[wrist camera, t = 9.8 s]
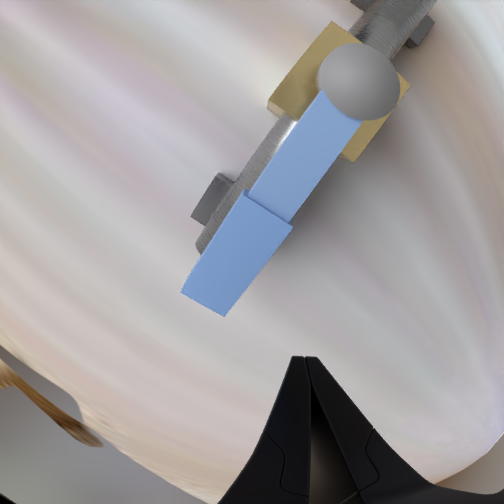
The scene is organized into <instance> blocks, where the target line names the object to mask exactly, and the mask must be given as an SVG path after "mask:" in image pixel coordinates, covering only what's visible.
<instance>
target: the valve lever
mask: <svg viewBox="0 0 504 504" xmlns="http://www.w3.org/2000/svg"><path fill="white" fill-rule="evenodd" d="M316 85H317V90H318V95H317V96H316V97H315V99H314V100H313V101H312V103H311V104H310V105H309V107H308V108H307V110H306V111H305V112H304V114H303V115H302V116H301V118H300V119H299V121H298V122H297V123H296V125H295V126H294V128H293V129H292V130H291V132H290V133H289V135H288V136H287V137H286V139H285V140H284V142H283V143H282V144H281V146H280V147H279V149H278V150H277V152H276V153H275V154H274V156H273V157H272V159H271V160H270V162H269V163H268V164H267V166H266V167H265V169H264V170H263V172H262V173H261V175H260V176H259V178H258V179H257V180H256V182H255V183H254V185H253V186H252V188H251V189H250V191H249V190H248V189H246V188H244V190H243V191H242V193H241V194H240V196H239V197H238V199H237V201H236V202H235V204H234V205H233V207H232V208H231V210H230V211H229V213H228V214H227V216H226V217H225V219H224V220H223V222H222V223H221V225H220V227H219V228H218V230H217V231H216V233H215V234H214V236H213V238H212V239H211V241H210V242H209V244H208V245H207V247H206V249H205V250H204V252H203V253H202V255H201V257H200V258H199V260H198V261H197V263H196V265H195V266H194V268H193V269H192V271H191V273H190V274H189V276H188V278H187V279H186V282H185V284H184V286H183V288H182V290H181V292H180V293H182V294H184V295H186V296H187V297H189V298H191V299H193V300H194V301H196V302H198V303H200V304H202V305H203V306H205V307H207V308H209V309H211V310H212V311H214V312H216V313H218V314H220V315H222V316H224V317H225V315H226V314H227V313H228V312H229V310H230V309H231V308H232V307H233V305H234V304H235V303H236V301H237V300H238V299H239V298H240V296H241V295H242V294H243V292H244V291H245V290H246V289H247V287H248V286H249V285H250V283H251V282H252V281H253V280H254V278H255V277H256V276H257V274H258V273H259V272H260V270H261V269H262V268H263V267H264V265H265V264H266V263H267V261H268V260H269V259H270V257H271V256H272V255H273V254H274V252H275V251H276V250H277V248H278V247H279V246H280V244H281V243H282V242H283V240H284V239H285V238H286V236H287V235H288V234H289V233H290V231H291V230H292V229H293V224H292V221H291V219H292V217H293V216H294V215H295V213H296V212H297V211H298V209H299V208H300V207H301V205H302V204H303V203H304V201H305V200H306V199H307V197H308V196H309V195H310V193H311V192H312V190H313V189H314V188H315V186H316V185H317V184H318V182H319V181H320V180H321V178H322V177H323V176H324V174H325V173H326V171H327V170H328V169H329V167H330V166H331V165H332V163H333V162H334V161H335V159H336V158H337V156H338V155H339V154H340V152H341V151H342V150H343V148H344V147H345V145H346V144H347V143H348V141H349V140H350V139H351V137H352V136H353V134H354V133H355V132H356V130H357V129H358V128H359V126H360V125H361V123H362V122H363V121H364V120H376V119H380V118H382V117H384V116H386V115H388V114H389V113H390V112H391V111H392V110H393V109H394V108H395V106H396V104H397V102H398V100H399V96H400V81H399V77H398V74H397V71H396V69H395V68H394V66H393V64H392V63H391V62H390V60H389V59H388V58H387V57H386V56H385V55H384V54H383V53H381V52H380V51H378V50H377V49H375V48H373V47H371V46H368V45H365V44H360V43H349V44H344V45H341V46H339V47H337V48H335V49H334V50H333V51H332V52H331V53H330V54H329V55H328V56H327V57H326V58H325V59H324V60H323V61H322V63H321V64H320V66H319V68H318V71H317V75H316Z"/></svg>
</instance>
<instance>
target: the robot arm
mask: <svg viewBox="0 0 504 504" xmlns="http://www.w3.org/2000/svg"><path fill="white" fill-rule="evenodd" d="M0 504H16V503H14V502H13V501H12V500H10V499H9V498H7V497H6V496H4V495H3V494H1V493H0ZM218 504H504V489H502V490H501V491H500V492H498V493H495V494H476V493H471V492H465V491H460V490H454V489H450V488H445V487H441V486H437V485H435V484H432V483H430V482H429V481H427V480H426V479H424V478H423V477H422V476H421V475H420V474H419V473H417V472H416V471H415V470H414V469H413V468H412V467H411V466H410V465H409V464H408V463H407V462H405V461H404V460H403V459H402V458H401V457H400V456H399V455H398V454H397V453H396V452H395V451H394V450H393V449H392V448H391V447H390V446H389V445H388V444H387V442H386V441H385V440H384V439H383V438H382V437H381V436H380V434H379V433H378V432H377V431H376V429H375V428H373V426H372V425H371V423H370V422H369V421H368V420H367V419H366V417H365V416H364V415H363V414H362V412H361V411H360V410H359V409H358V407H357V406H356V405H355V404H354V402H353V401H352V400H351V399H350V398H349V396H348V395H347V394H346V393H345V391H344V390H343V389H342V388H341V386H340V385H339V384H338V383H337V381H336V380H335V379H334V378H333V376H332V375H331V374H330V373H329V371H328V370H327V369H326V367H325V366H324V365H323V364H322V362H321V361H320V360H319V359H318V358H317V357H311V356H306V357H305V358H304V357H303V356H292V357H291V360H290V363H289V366H288V368H287V371H286V374H285V377H284V379H283V382H282V385H281V387H280V390H279V392H278V395H277V398H276V400H275V403H274V405H273V408H272V410H271V413H270V415H269V418H268V420H267V423H266V425H265V427H264V430H263V433H262V434H261V437H260V439H259V441H258V443H257V445H256V447H255V449H254V452H253V454H252V455H251V457H250V459H249V460H248V462H247V463H246V465H245V467H244V468H243V470H242V471H241V473H240V474H239V475H238V477H237V478H236V480H235V481H234V482H233V484H232V485H231V487H230V488H229V489H228V491H227V492H226V493H225V495H224V496H223V497H222V499H221V500H220V501H219V502H218Z"/></svg>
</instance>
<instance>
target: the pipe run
mask: <svg viewBox="0 0 504 504" xmlns="http://www.w3.org/2000/svg"><path fill="white" fill-rule="evenodd" d="M436 1H437V0H351V1H350V2H352V3H353V4H354V5H356V6H357V7H359V8H360V9H362V10H363V11H364V13H363V14H362V16H361V17H360V18H359V19H358V20H357V21H356V22H355V24H354V25H353V26H352V27H351V28H350V29H349V31H348V32H347V31H346V30H344V29H343V28H341V27H340V26H338V25H337V24H335V23H334V22H332V21H331V22H330V23H329V25H328V26H327V27H326V28H325V29H324V30H323V31H322V33H321V34H320V35H319V36H318V37H317V39H316V40H315V41H314V42H313V43H312V44H311V46H310V47H309V48H308V49H307V51H306V52H305V53H304V54H303V55H302V57H301V58H300V59H299V60H298V62H297V63H296V64H295V65H294V67H293V68H292V69H291V70H290V72H289V73H288V74H287V76H286V77H285V78H284V80H283V81H282V82H281V83H280V85H279V86H278V87H277V89H276V90H275V91H274V93H273V94H272V95H271V97H270V98H269V99H268V104H267V109H268V110H270V111H272V112H273V113H275V114H276V115H278V116H279V117H280V118H279V120H278V121H277V122H276V124H275V125H274V126H273V128H272V129H271V131H270V132H269V133H268V135H267V136H266V138H265V139H264V140H263V142H262V143H261V145H260V146H259V147H258V149H257V150H256V152H255V153H254V155H253V156H252V157H251V159H250V160H249V162H248V163H247V165H246V166H245V168H244V169H243V171H242V172H241V173H240V175H239V176H238V178H237V179H236V181H235V182H232V181H231V180H229V179H227V178H226V177H224V176H223V175H221V174H220V173H218V174H217V175H216V176H215V178H214V179H213V181H212V182H211V184H210V185H209V187H208V189H207V190H206V192H205V193H204V195H203V197H202V198H201V200H200V202H199V203H198V205H197V206H196V208H195V210H194V211H193V213H192V215H191V216H190V217H192V218H193V219H195V220H196V221H198V222H199V223H201V224H203V225H204V226H206V227H205V228H204V230H203V231H202V233H201V234H200V236H199V238H198V239H197V241H196V248H197V250H198V252H199V253H200V254H201V255H202V253H203V252H204V250H205V249H206V247H207V245H208V244H209V242H210V241H211V239H212V238H213V236H214V234H215V233H216V231H217V230H218V228H219V227H220V225H221V223H222V222H223V220H224V219H225V217H226V216H227V214H228V213H229V211H230V210H231V208H232V207H233V205H234V204H235V202H236V201H237V199H238V197H239V196H240V194H241V193H242V191H243V190H244V188H246V189H248V190H249V191H250V189H251V188H252V186H253V185H254V183H255V182H256V180H257V179H258V178H259V176H260V175H261V173H262V172H263V170H264V169H265V167H266V166H267V164H268V163H269V162H270V160H271V159H272V157H273V156H274V154H275V153H276V152H277V150H278V149H279V147H280V146H281V144H282V143H283V142H284V140H285V139H286V137H287V136H288V135H289V133H290V132H291V130H292V129H293V128H294V126H295V125H296V123H297V122H298V121H299V119H300V118H301V116H302V115H303V114H304V112H305V111H306V110H307V108H308V107H309V105H310V104H311V103H312V101H313V100H314V99H315V97H316V96H317V95H318V90H317V85H316V75H317V71H318V68H319V66H320V64H321V63H322V61H323V60H324V59H325V58H326V57H327V56H328V55H329V54H330V53H331V52H332V51H333V50H334V49H335V48H337V47H339V46H341V45H344V44H349V43H360V44H365V45H368V46H371V47H373V48H375V49H377V50H378V51H380V52H381V53H383V54H384V55H385V56H386V57H387V58H388V59H389V60H390V62H391V60H392V59H393V58H394V56H395V55H396V54H397V52H398V51H399V50H400V49H401V47H402V46H403V45H404V44H405V45H406V46H407V47H409V48H410V49H411V48H413V47H415V46H418V45H419V43H420V42H421V41H422V39H423V38H424V37H425V35H426V34H427V32H428V31H429V30H430V28H431V27H432V26H433V24H434V23H435V22H434V21H433V20H432V19H431V18H430V17H429V16H427V15H426V14H427V13H428V12H429V10H430V9H431V8H432V6H433V5H434V4H435V3H436ZM397 74H398V77H399V81H400V96H399V100H398V102H397V104H398V103H399V101H400V100H401V98H402V97H403V96H404V94H405V93H406V91H407V90H408V89H409V87H410V86H411V85H410V84H409V83H408V82H407V81H406V80H405V79H404V78H403V77H402V76H401V75H400V74H399V73H398V72H397ZM397 104H396V105H397ZM395 107H396V106H395ZM392 111H393V110H392ZM392 111H391V112H392ZM391 112H390V113H389V114H388V115H386V116H384V117H382V118H380V119H376V120H364V121H363V122H362V123H361V125H360V126H359V128H358V129H357V130H356V132H355V133H354V134H353V136H352V137H351V139H350V140H349V141H348V143H347V144H346V145H345V147H344V148H343V150H342V151H341V152H340V154H339V155H338V156H339V157H341V158H344V159H346V160H348V161H351V162H353V163H354V162H355V161H356V159H357V158H358V157H359V156H360V154H361V153H362V152H363V150H364V149H365V148H366V146H367V145H368V143H369V142H370V141H371V139H372V138H373V137H374V135H375V134H376V133H377V131H378V130H379V129H380V127H381V126H382V125H383V123H384V122H385V120H386V119H387V118H388V116H389V115H390V114H391Z"/></svg>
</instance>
